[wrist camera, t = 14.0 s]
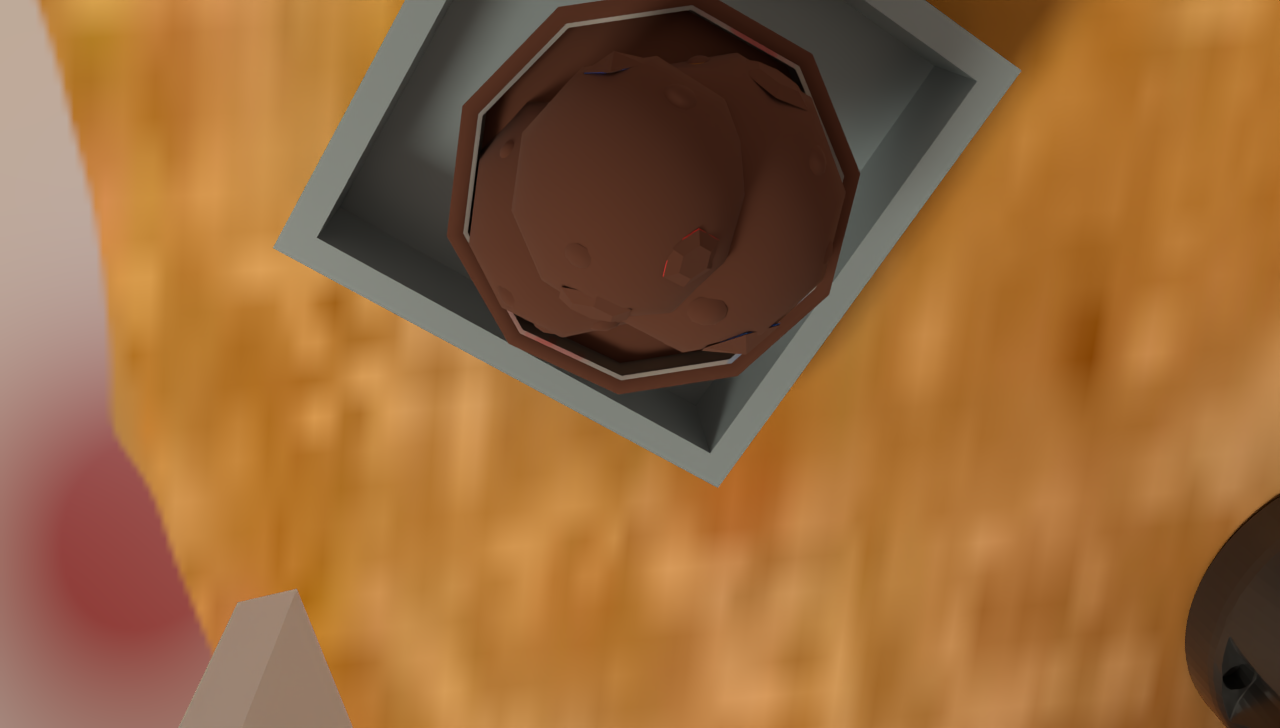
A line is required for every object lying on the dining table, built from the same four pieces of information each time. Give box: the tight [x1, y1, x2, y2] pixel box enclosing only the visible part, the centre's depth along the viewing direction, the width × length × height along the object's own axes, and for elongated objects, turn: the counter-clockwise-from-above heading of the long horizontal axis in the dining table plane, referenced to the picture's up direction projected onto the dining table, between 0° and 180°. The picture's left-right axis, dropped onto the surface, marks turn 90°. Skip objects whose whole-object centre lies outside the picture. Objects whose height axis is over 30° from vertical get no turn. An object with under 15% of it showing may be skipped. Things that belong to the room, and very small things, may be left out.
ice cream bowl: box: [447, 0, 860, 395], centre depth 30 cm, size 11×11×15 cm
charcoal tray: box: [273, 0, 1021, 488], centre depth 36 cm, size 17×17×5 cm
